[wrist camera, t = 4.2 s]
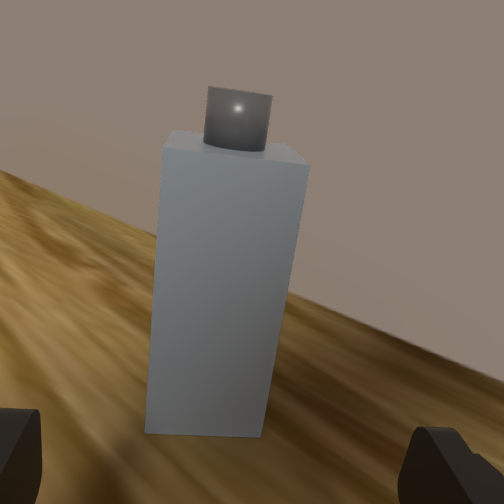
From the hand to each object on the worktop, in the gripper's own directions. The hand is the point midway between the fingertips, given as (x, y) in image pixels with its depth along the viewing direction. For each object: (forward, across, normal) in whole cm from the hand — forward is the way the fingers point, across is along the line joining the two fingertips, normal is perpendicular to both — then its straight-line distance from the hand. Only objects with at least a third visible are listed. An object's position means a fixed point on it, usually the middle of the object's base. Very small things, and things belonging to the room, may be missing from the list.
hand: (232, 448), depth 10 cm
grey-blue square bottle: (+10, 0, +7) cm, 12 cm away
